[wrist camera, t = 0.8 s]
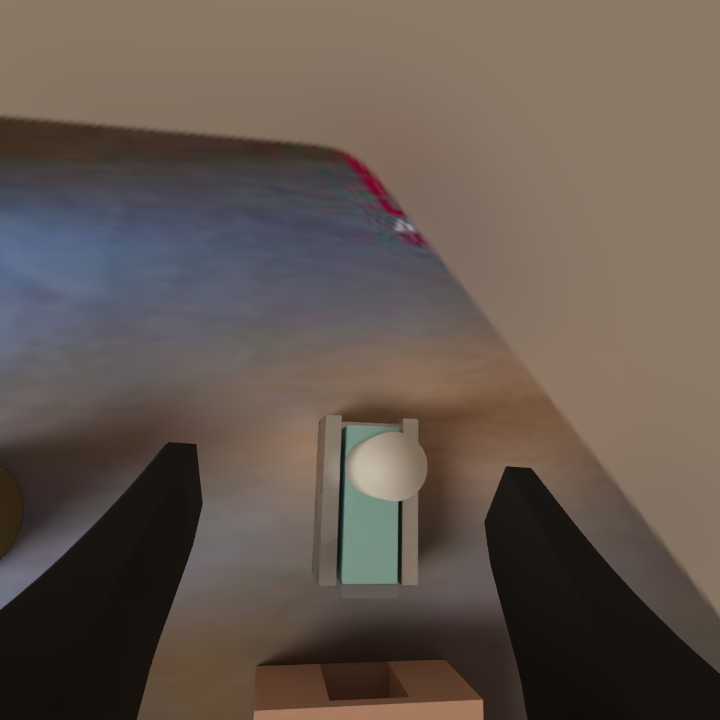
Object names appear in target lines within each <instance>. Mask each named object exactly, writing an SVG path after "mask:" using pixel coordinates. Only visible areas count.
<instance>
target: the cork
mask: <svg viewBox="0 0 720 720" xmlns="http://www.w3.org/2000/svg"><path fill="white" fill-rule="evenodd" d="M22 511H23V501H22V498H21V494H20V491H19V487H18V485H17V483H16V482H15V481H14V479H13V478H12V476H11V475H10V474H9V472H8V471H7V470H6V469H4V468H2V467H1V466H0V559H1V558H2V556H3V555H4V554H5V553H6V551H7V550H8V549H9V548H10V546H11V545H12V544H13V543H14V540H15V538H16V535H17V533H18V530H19V528H20V526H21V523H22Z"/></svg>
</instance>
